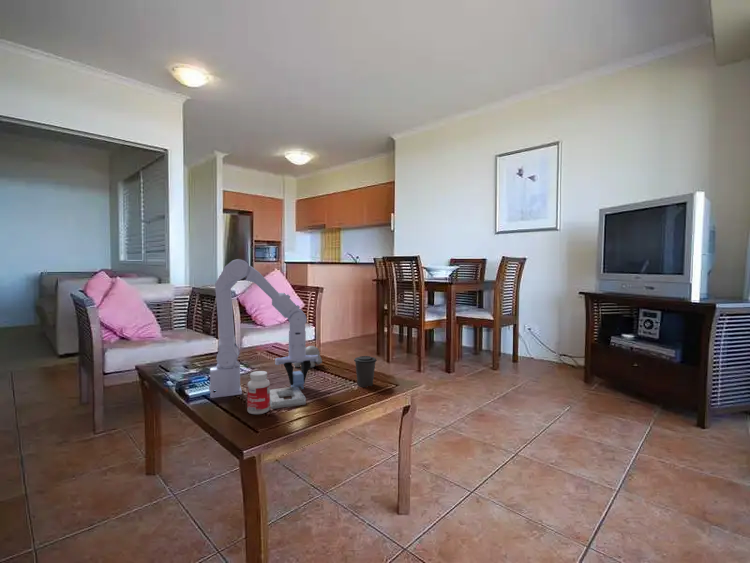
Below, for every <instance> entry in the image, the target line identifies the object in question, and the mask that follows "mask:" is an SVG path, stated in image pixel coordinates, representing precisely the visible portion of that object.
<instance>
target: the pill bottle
mask: <svg viewBox="0 0 750 563" xmlns="http://www.w3.org/2000/svg"><path fill="white" fill-rule="evenodd" d="M249 378H250V380H249V381H248V382H247V402H246V404H247V405H246V406H247V409H246V410H247V412H248V413H249V414H251V415H262V414H265V413H267V412H269V411H270V408H271V406H270V390H271V388H270V387H271V382H270V380H269V379H267V378H268V372H267V371H265V370H257V371H252V372H250V373H249Z"/></svg>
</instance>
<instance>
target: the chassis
mask: <svg viewBox="0 0 750 563" xmlns="http://www.w3.org/2000/svg"><path fill="white" fill-rule="evenodd" d="M284 397H291V398H287V399H285V398H284ZM306 401H307V398H306V396H305V395H304V393H303V392H302V391H300V389H299V388H298V387H297V386H296V387H291V386H289V387H281V388H273V389H271V388H270V408H271V410H276V409H282V408H289V407H296V406H301V405H302V406H305V405H307V402H306Z"/></svg>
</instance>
